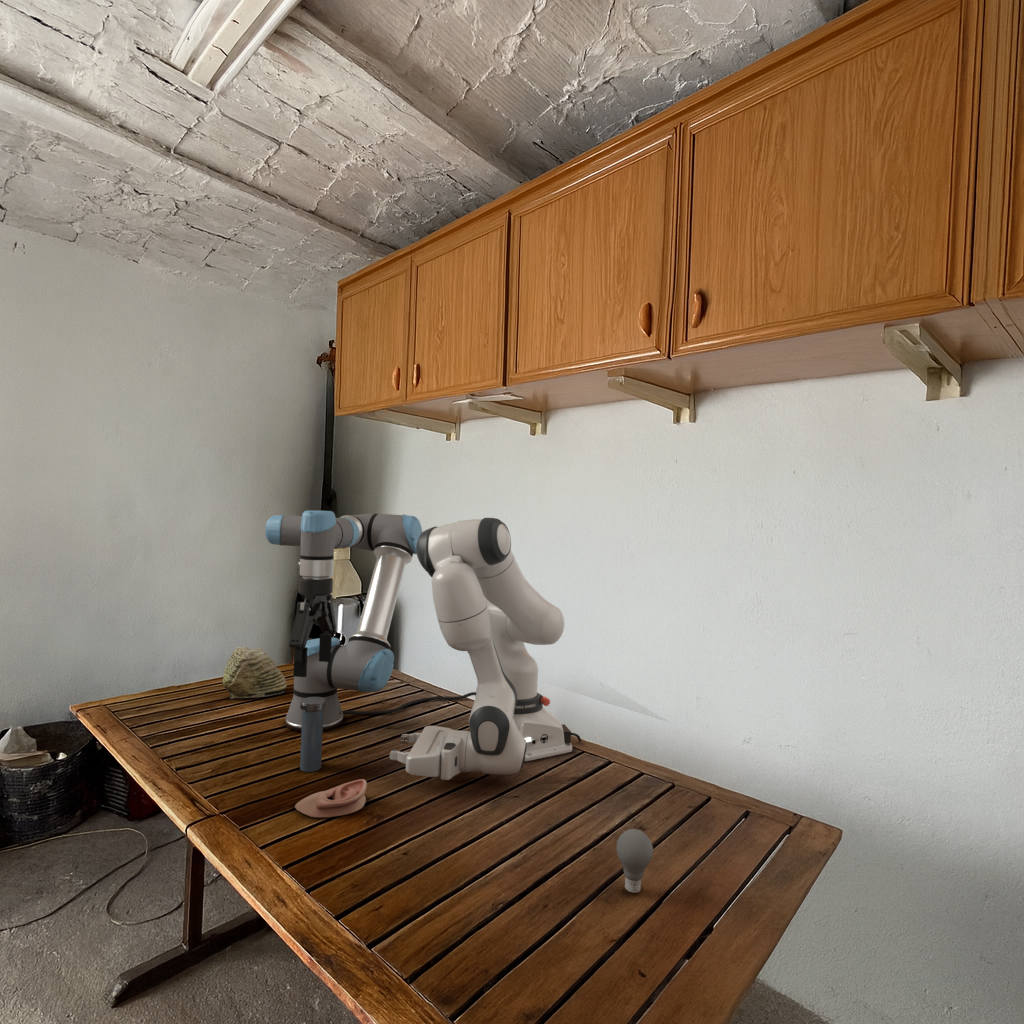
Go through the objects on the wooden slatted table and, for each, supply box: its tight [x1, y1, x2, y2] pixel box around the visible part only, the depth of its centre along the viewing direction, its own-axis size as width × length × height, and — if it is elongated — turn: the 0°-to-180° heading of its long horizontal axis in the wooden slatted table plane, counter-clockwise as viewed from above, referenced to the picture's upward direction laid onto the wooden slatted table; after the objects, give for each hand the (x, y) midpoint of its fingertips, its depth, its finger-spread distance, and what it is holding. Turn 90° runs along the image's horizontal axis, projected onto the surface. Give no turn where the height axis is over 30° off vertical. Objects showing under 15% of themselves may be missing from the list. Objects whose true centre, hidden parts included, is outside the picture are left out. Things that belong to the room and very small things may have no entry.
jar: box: [299, 709, 324, 773], centre depth 148 cm, size 5×5×15 cm
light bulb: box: [615, 828, 654, 894], centre depth 106 cm, size 6×6×10 cm
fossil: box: [222, 646, 288, 699], centre depth 198 cm, size 9×18×15 cm, turn 132°
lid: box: [300, 697, 326, 711], centre depth 147 cm, size 6×6×2 cm
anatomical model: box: [294, 778, 368, 819], centre depth 130 cm, size 13×4×12 cm
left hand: (312, 668), depth 147 cm, fingers open, 13 cm apart
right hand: (395, 746), depth 146 cm, fingers open, 8 cm apart
